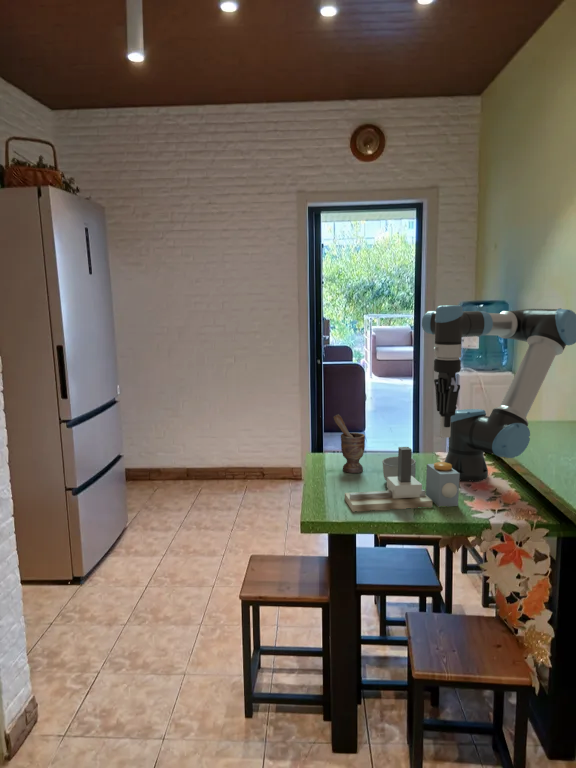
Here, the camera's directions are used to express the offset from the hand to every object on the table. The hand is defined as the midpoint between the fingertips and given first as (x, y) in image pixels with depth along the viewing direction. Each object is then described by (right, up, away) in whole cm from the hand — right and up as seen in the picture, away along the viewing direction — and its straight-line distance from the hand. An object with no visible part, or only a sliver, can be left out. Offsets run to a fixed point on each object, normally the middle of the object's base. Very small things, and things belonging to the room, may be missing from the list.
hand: (444, 436), depth 159 cm
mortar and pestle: (-25, -15, +33) cm, 44 cm away
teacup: (-9, -17, +20) cm, 28 cm away
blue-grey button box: (0, -20, +3) cm, 20 cm away
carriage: (-12, -18, +1) cm, 21 cm away
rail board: (-17, -20, +1) cm, 26 cm away
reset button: (0, -15, +2) cm, 16 cm away
